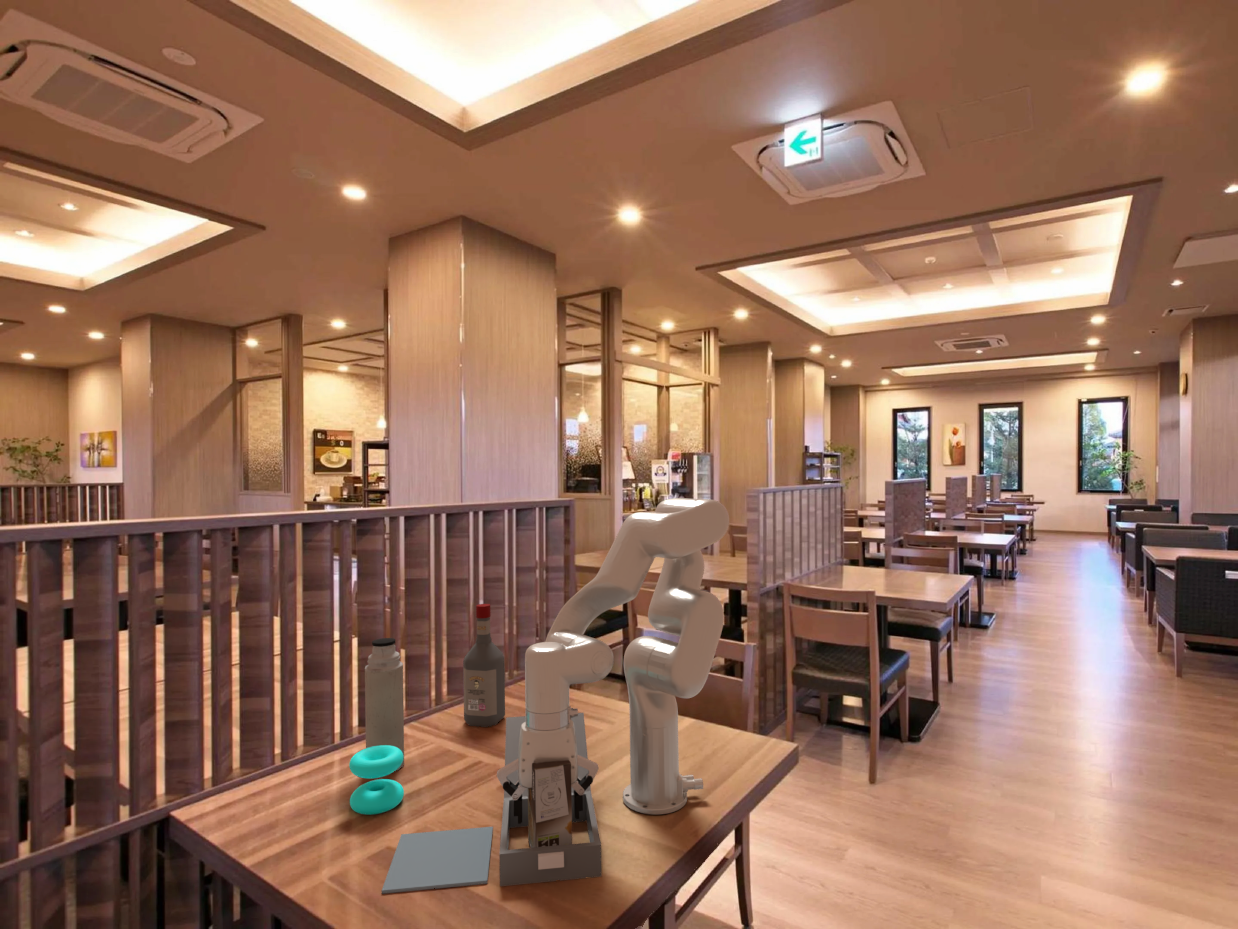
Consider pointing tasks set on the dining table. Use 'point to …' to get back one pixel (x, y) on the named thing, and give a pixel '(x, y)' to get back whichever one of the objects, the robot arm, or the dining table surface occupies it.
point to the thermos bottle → (384, 696)
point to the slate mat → (440, 860)
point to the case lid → (513, 746)
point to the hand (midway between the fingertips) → (548, 817)
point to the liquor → (484, 676)
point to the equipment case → (549, 850)
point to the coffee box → (550, 804)
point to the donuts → (376, 792)
